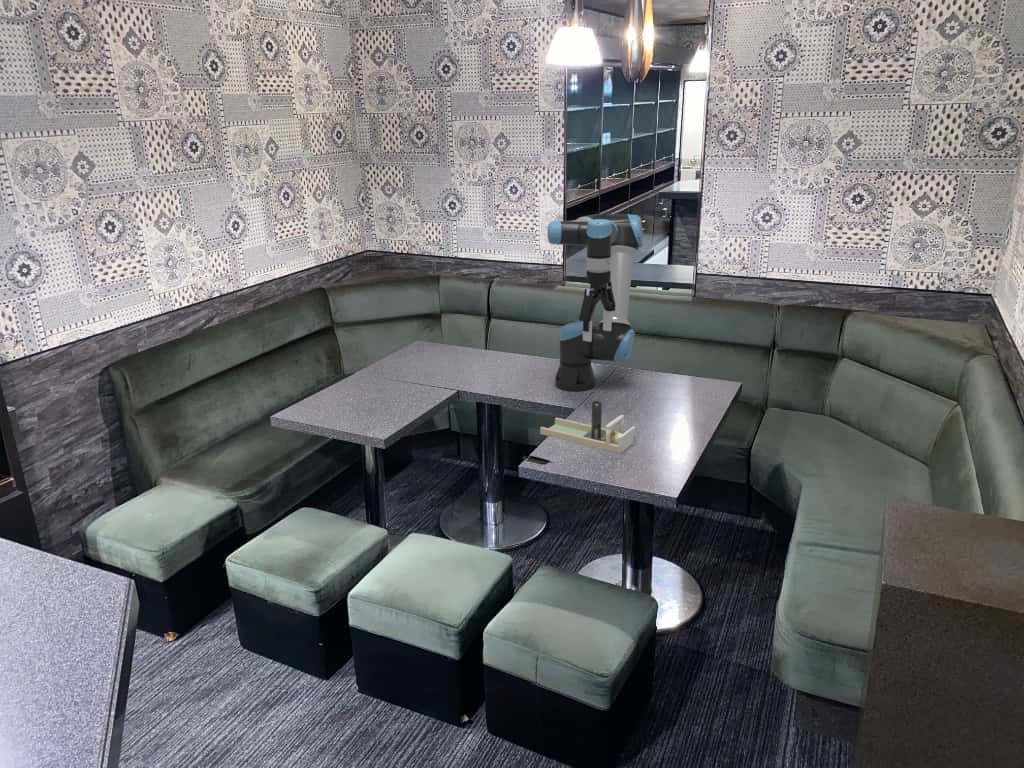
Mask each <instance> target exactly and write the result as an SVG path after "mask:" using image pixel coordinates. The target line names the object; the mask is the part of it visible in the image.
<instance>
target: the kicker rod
mask: <svg viewBox="0 0 1024 768" xmlns="http://www.w3.org/2000/svg"><path fill="white" fill-rule="evenodd" d="M602 408H603V403H602V402H601V401H598V400H596V401H595V400H594V401H592V402H591V431H590V432H588V433H587V434H585V435H584V436H583V437H586V438H590V439H594V440H599V441H603V442H606V434H605V433H601V428H602V414H603V413H602V411H603V409H602ZM610 430H611V431H610V443H611V442H612V441H613V437H614V435H615V431H616V430H614V429H610Z"/></svg>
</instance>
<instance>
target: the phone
mask: <svg viewBox="0 0 1024 768" xmlns="http://www.w3.org/2000/svg"><path fill="white" fill-rule="evenodd" d="M530 455H531V454H527V453H526V454H524V455H523V456H522V461H523V460H524V461H526V459H528V460H527V461H526V462H530V463H534V462H535V463H534V464H539V465H542V466H543V465H546V464H548V463H549V462H551V460H549V459H545V458H542V457H538V456H533V455H531V456H530ZM529 456H530V457H529ZM528 457H529V458H528Z"/></svg>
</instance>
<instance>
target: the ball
mask: <svg viewBox="0 0 1024 768" xmlns="http://www.w3.org/2000/svg"><path fill="white" fill-rule="evenodd" d="M621 435H622V433H617V434H615V435H614V437H613V442H614V444H615V445H618V437H620V436H621Z"/></svg>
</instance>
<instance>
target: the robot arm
mask: <svg viewBox="0 0 1024 768" xmlns="http://www.w3.org/2000/svg"><path fill="white" fill-rule="evenodd" d="M547 240H548V243H549V244H551V245H557V246H560V245H561V246H562V245H565V246H568V245H569V246H572V245H573V246H586V270H587V271H586V278H585V279H586V283H587V284H589V285H590V287H589V289H588V288H584V296H583V300H582V304H581V308H580V313H579V317H578V320H579V321H576V322H571V323H568V324H565V325H563V326H562V327H561V328H560V330H559V366H558V369H557V371H556V375H555V378H554V386H555V387H557V388H558V389H561V390H563V391H567V392H568V391H569V392H582V391H587V390H591V389H594V388H595V387H596V383H597V382H596V380H597V379H596V376H595V375H596V374H595V373H594V370H593V367H592V361H593V360H594V361H610V362H626V361H629V358H630V356H631V354H632V351H633V347H634V343H635V342H634V341H635V334H636V333H635V330H633V329H631V328H632V325H631V323H630V322H629V321H628V316H629V306H630V305H629V304H630V294H631V284H632V273H633V263H634V257H635V255H637V254H638V253H639V248H642V247H643V245H644V231H643V222H642V218H641V217H640V216H639V215H638V214H630V213H625V214H623V213H621V214H620V213H594V214H590V215H585V216H581V217H578V218H577V219H574V220H551V221H549V224H548V226H547ZM599 302H601V304H602V306H603V308H604V310H603V312H602V313H603V314H602V320H600V321H599V322H598V327H593V321H592V317H593V314H594V312H595V309H596V306H597V304H598V303H599Z"/></svg>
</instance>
